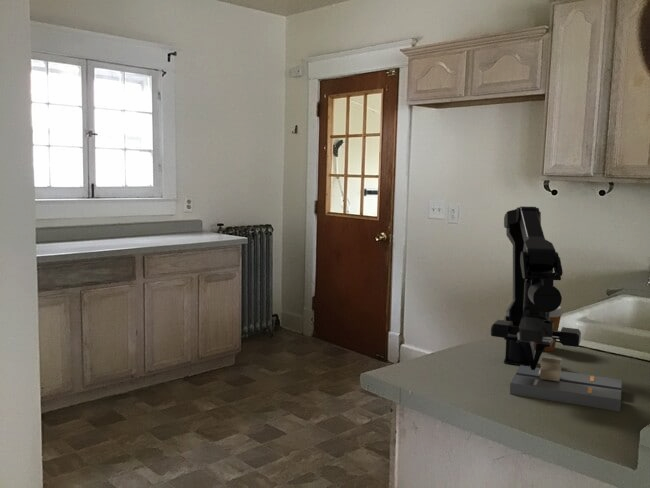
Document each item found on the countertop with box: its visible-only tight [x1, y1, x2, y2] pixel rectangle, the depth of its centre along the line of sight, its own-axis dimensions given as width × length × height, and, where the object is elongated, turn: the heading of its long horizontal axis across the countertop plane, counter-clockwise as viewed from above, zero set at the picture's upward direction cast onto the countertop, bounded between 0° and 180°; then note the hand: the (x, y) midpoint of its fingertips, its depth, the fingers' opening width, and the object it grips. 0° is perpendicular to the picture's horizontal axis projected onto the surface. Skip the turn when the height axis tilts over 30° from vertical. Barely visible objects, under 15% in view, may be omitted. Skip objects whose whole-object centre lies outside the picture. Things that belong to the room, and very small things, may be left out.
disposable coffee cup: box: [534, 305, 564, 352], centre depth 170 cm, size 10×10×12 cm
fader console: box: [509, 365, 623, 412], centre depth 137 cm, size 22×14×3 cm, turn 64°
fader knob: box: [540, 356, 563, 381], centre depth 138 cm, size 4×4×6 cm
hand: (533, 369), depth 140 cm, fingers closed
